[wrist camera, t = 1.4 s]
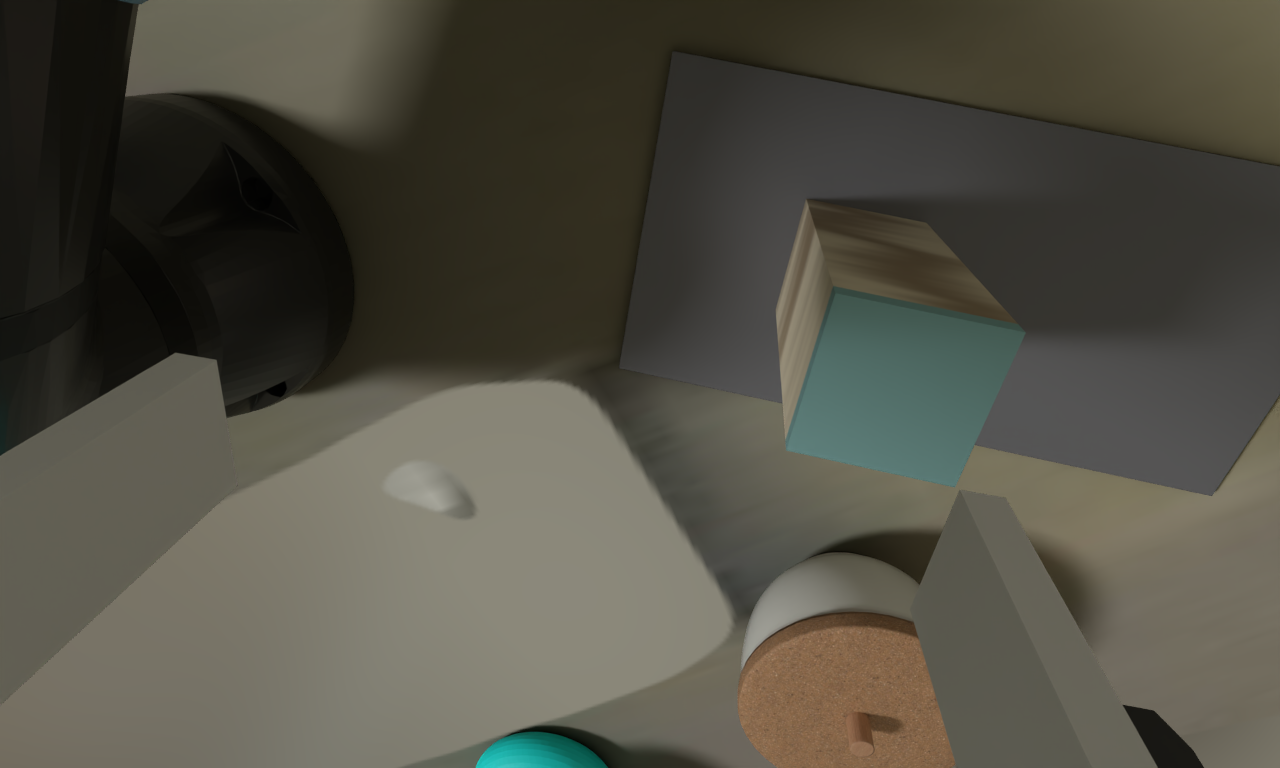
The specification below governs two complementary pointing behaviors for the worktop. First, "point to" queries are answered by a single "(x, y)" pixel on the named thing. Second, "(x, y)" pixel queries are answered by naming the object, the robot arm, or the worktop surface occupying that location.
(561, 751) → the donuts
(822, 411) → the birch block
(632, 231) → the worktop surface
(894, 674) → the lidded jar
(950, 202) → the rubber mat
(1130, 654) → the worktop surface
